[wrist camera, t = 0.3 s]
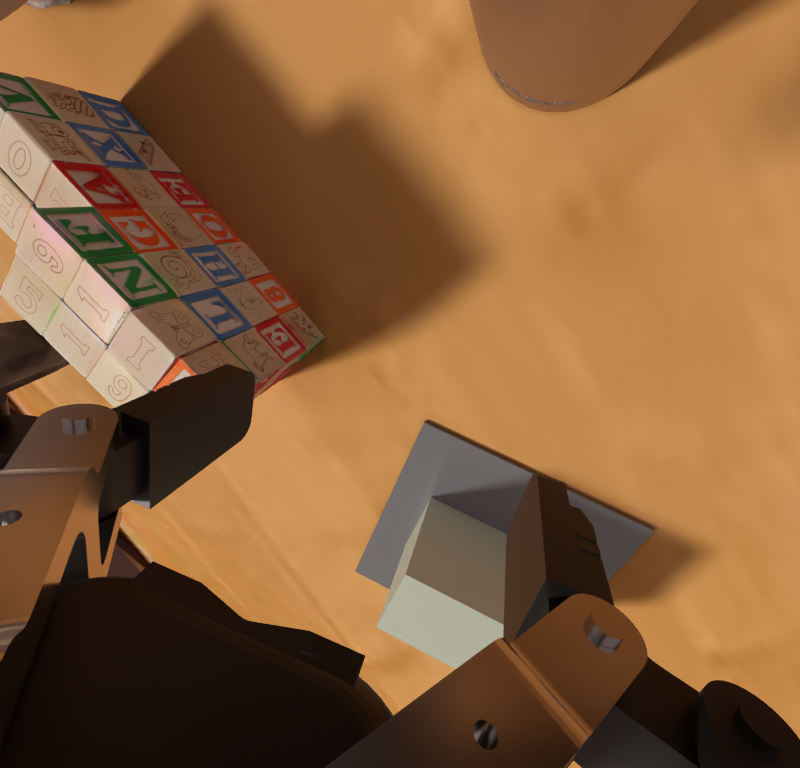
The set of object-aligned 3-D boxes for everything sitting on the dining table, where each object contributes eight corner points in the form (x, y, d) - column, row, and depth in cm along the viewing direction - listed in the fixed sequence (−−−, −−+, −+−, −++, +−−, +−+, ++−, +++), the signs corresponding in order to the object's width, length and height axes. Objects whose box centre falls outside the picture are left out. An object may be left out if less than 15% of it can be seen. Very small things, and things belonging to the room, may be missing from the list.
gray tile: (425, 420, 31) (424, 423, 31) (653, 528, 30) (654, 531, 29) (356, 568, 40) (355, 571, 39) (532, 659, 38) (532, 663, 38)
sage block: (430, 496, 33) (405, 574, 26) (570, 565, 32) (582, 665, 25) (405, 545, 36) (376, 627, 29) (533, 609, 35) (535, 711, 28)
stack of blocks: (86, 169, 31) (-150, 148, 20) (120, 98, 28) (-132, 30, 17) (280, 382, 34) (163, 465, 23) (329, 337, 31) (223, 407, 20)
